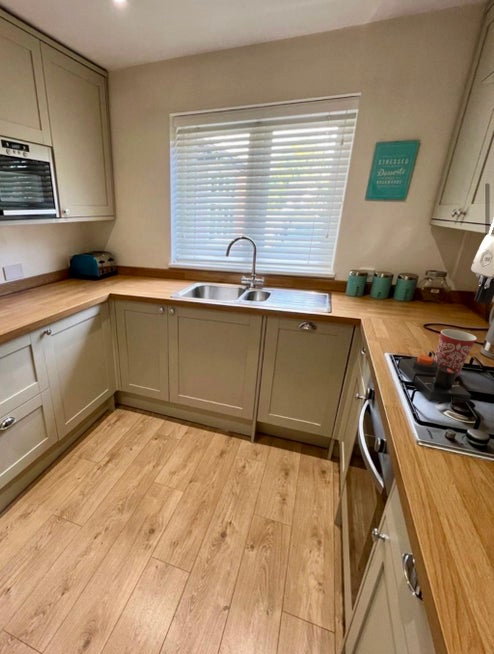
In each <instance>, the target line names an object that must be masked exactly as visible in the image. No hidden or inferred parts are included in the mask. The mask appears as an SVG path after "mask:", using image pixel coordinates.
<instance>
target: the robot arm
mask: <svg viewBox="0 0 494 654" xmlns="http://www.w3.org/2000/svg"><path fill="white" fill-rule="evenodd" d="M470 270H471V271H472V273H474V274H475V277H476V278H478V283H477V286H478V288H477V290H476V293H475V297H474V299H473V301H475V302H477V303H481V304H482V303H483V304H491V303H492V301H493V299H494V217H493V218H492V221H491V223H490V226H489V229H488V232H487V234H486V235H485V236H484V238H483V239H482V241H481V243H480V245H479V247H478V249H477V251H476V254H475V256H474V259H473V260H472V264H471V267H470Z"/></svg>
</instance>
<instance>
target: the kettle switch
mask: <svg viewBox="0 0 494 654" xmlns="http://www.w3.org/2000/svg"><path fill="white" fill-rule="evenodd" d="M417 357H418V359H417V362H419V363H421V364H425V365H432V363H433V361H434V358H433V357H432V356H429V355H425V354H420V355H418V356H417Z"/></svg>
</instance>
